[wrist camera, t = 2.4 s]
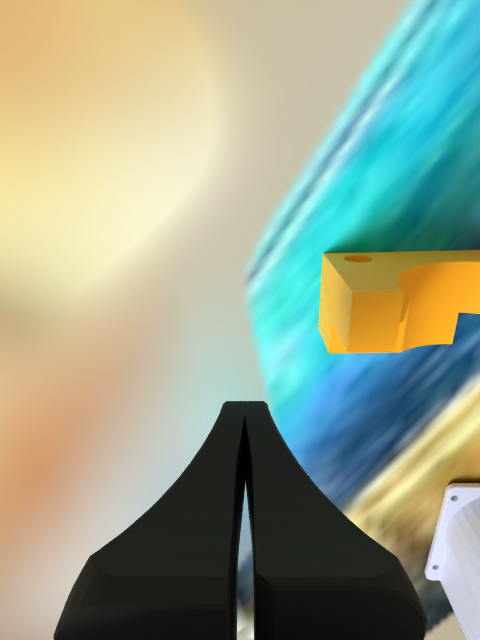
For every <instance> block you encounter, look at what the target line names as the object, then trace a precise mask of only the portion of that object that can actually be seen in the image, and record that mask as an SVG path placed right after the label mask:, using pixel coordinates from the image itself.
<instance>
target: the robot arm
mask: <svg viewBox="0 0 480 640" xmlns="http://www.w3.org/2000/svg"><path fill="white" fill-rule="evenodd" d="M245 482H246V489H247V498H248V510H249V520H250V530H251V540H252V552H253V587H254V640H424V637H425V633H426V627H427V618H426V616H425V613H424V610H423V607H422V604H421V601H420V599H419V597H418V595H417V593H416V591H415V589H414V587H413V585H412V583H411V581H410V579H409V577H408V575H407V573H406V572H405V570H404V568H403V566H402V564H401V563H400V561H399V559H398V558H397V557H396V556H395V555H393V554H392V553H391V552H389V551H388V550H387V549H385V548H384V547H383V546H381V545H380V544H378V543H377V542H376V541H374V540H373V539H372V538H370V537H369V536H368V535H366V534H365V533H364V532H363V531H362V530H361V529H359V528H358V527H357V526H356V525H355V524H354V523H352V522H351V521H350V520H349V519H348V518H347V517H346V516H345V515H344V514H343V513H342V512H341V511H340V510H339V509H338V508H337V507H336V506H335V505H334V504H333V503H332V502H331V501H330V500H329V499H328V498H327V497H326V496H325V495H324V494H323V493H322V492H321V490H320V489H319V488H318V487H317V486H316V485H315V483H314V482H313V481H312V480H311V479H310V477H309V476H308V475H307V474H306V472H305V471H304V470H303V468H302V467H301V466H300V464H299V463H298V461H297V460H296V459H295V457H294V456H293V454H292V453H291V451H290V449H289V448H288V446H287V445H286V443H285V441H284V440H283V438H282V436H281V434H280V433H279V431H278V429H277V427H276V425H275V423H274V421H273V419H272V416H271V414H270V411H269V409H268V405H267V404H266V403H265V402H264V401H226V402H225V403H224V404H223V406H222V409H221V412H220V414H219V416H218V418H217V420H216V422H215V424H214V426H213V428H212V430H211V432H210V433H209V435H208V437H207V438H206V440H205V442H204V444H203V445H202V447H201V448H200V450H199V451H198V453H197V454H196V455H195V457H194V458H193V460H192V461H191V463H190V464H189V465H188V467H187V468H186V469H185V470H184V472H183V473H182V474H181V476H180V477H179V478H178V479H177V480H176V482H175V483H174V484H173V485H172V486H171V487H170V488H169V489H168V490H167V491H166V492H165V494H164V495H163V496H162V497H161V498H160V499H159V500H158V501H157V502H156V503H155V504H154V505H153V506H152V507H151V508H150V509H149V510H148V511H147V512H145V513H144V514H143V515H142V516H141V517H140V518H139V519H138V520H136V521H135V522H134V523H133V524H132V525H131V526H130V527H128V528H127V529H126V530H125V531H124V532H123V533H121V534H120V535H119V536H117V537H116V538H114V539H113V540H112V541H110V542H109V543H108V544H106V545H105V546H104V547H102V548H101V549H100V550H98V551H97V552H95V553H94V554H92V555H91V556H90V557H89V559H88V560H87V562H86V564H85V566H84V567H83V569H82V571H81V573H80V575H79V577H78V578H77V580H76V582H75V584H74V586H73V588H72V590H71V592H70V594H69V596H68V599H67V602H66V604H65V607H64V609H63V612H62V614H61V617H60V619H59V622H58V625H57V627H56V631H55V633H54V640H237V583H238V553H239V552H238V551H239V541H240V531H241V522H242V512H243V502H244V492H245ZM425 575H426V577H427V579H429V580H440V581H441V584H442V586H443V588H444V590H445V592H446V595H447V597H448V599H449V601H450V604H451V606H452V608H453V610H454V612H455V615H456V617H457V619H458V621H459V623H460V626H461V628H462V630H463V632H464V635H465V637H466V639H467V640H480V483H452V484H450V485H449V486H447V488H446V492H445V495H444V499H443V503H442V507H441V511H440V515H439V519H438V522H437V526H436V530H435V534H434V538H433V542H432V546H431V549H430V553H429V557H428V561H427V565H426V569H425Z"/></svg>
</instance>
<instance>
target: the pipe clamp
mask: <svg viewBox="0 0 480 640" xmlns="http://www.w3.org/2000/svg"><path fill="white" fill-rule="evenodd" d="M459 313H476V314H480V250H449V251H402V252H354V253H323V260H322V277H321V294H320V311H319V330H320V333H321V335H322V338H323V340H324V343H325V345H326V347H327V350H328V352H329V353H385V352H402V351H404V350H407V349H410V348H414V347H418V346H424V345H433V344H452V342H453V337H454V333H455V328H456V323H457V319H458V314H459Z"/></svg>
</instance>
